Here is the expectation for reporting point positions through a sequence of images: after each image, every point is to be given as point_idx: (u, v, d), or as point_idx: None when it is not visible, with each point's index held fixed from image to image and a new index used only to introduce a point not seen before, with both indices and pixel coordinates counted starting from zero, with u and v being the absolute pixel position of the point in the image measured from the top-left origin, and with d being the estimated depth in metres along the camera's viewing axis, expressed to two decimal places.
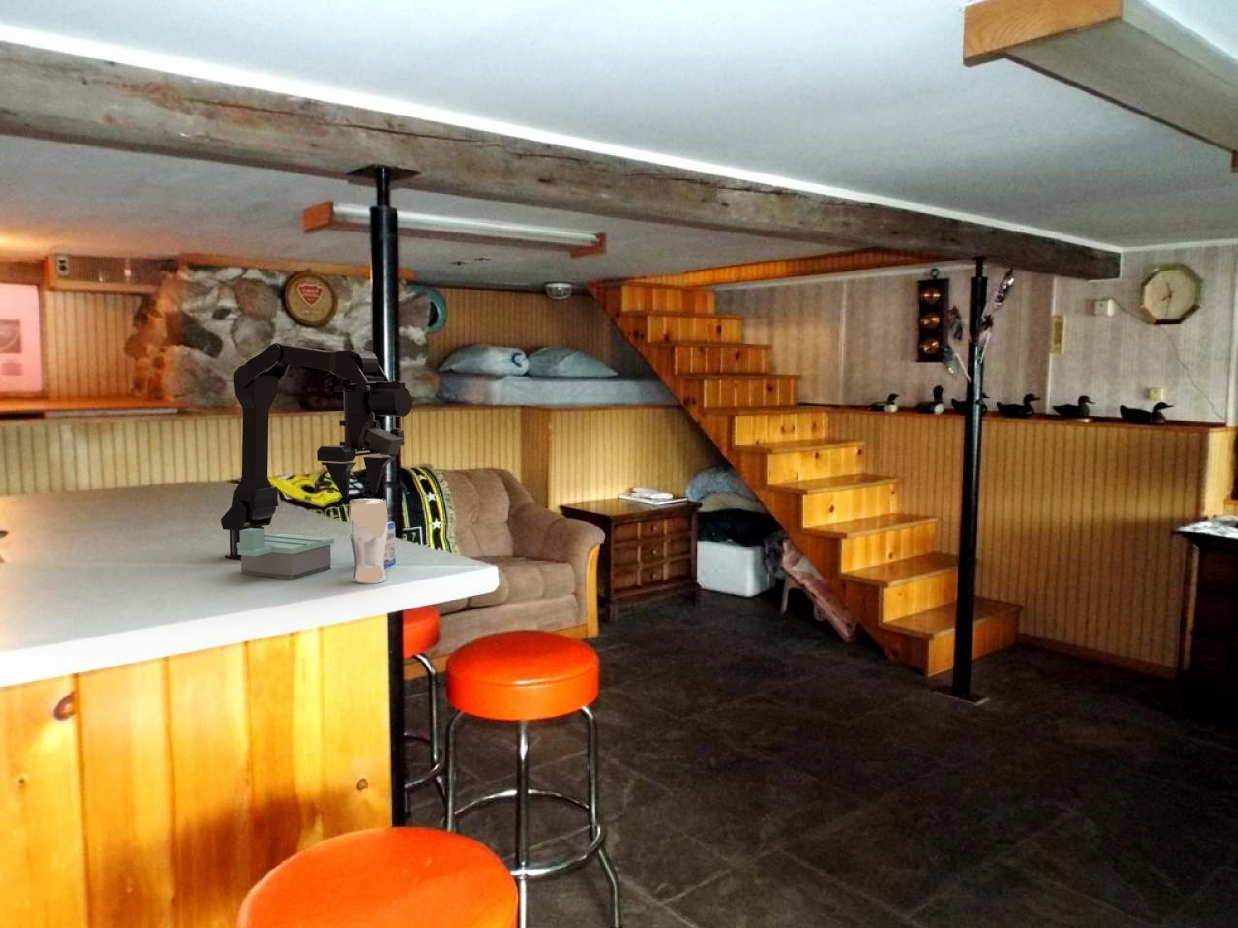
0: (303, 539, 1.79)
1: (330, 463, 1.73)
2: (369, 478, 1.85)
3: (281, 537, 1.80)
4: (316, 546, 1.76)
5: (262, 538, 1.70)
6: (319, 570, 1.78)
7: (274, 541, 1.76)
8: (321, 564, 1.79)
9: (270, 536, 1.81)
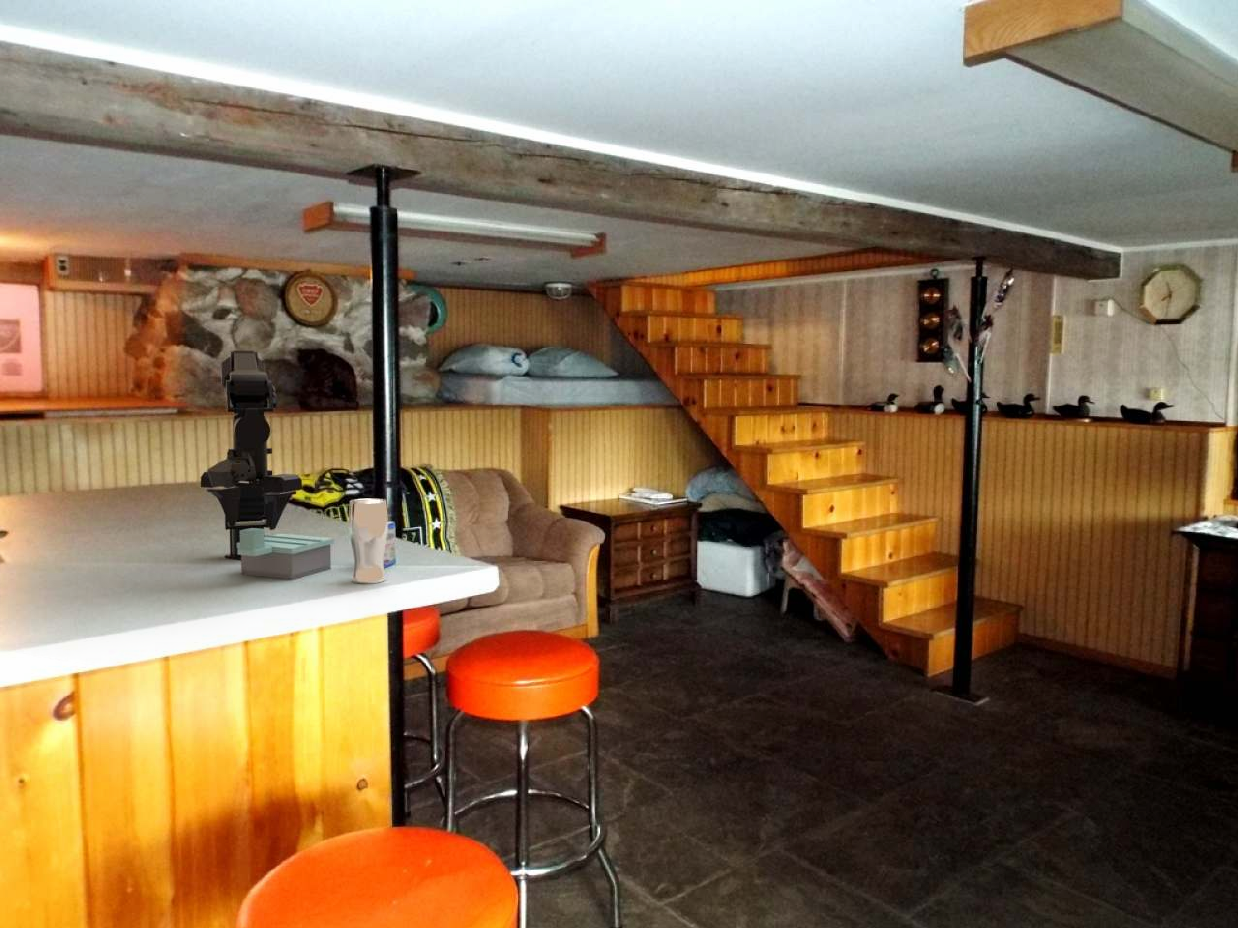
0: (303, 539, 1.79)
1: None
2: None
3: (281, 537, 1.80)
4: (316, 546, 1.76)
5: (262, 538, 1.70)
6: (319, 570, 1.78)
7: (274, 541, 1.76)
8: (321, 564, 1.79)
9: (270, 536, 1.81)
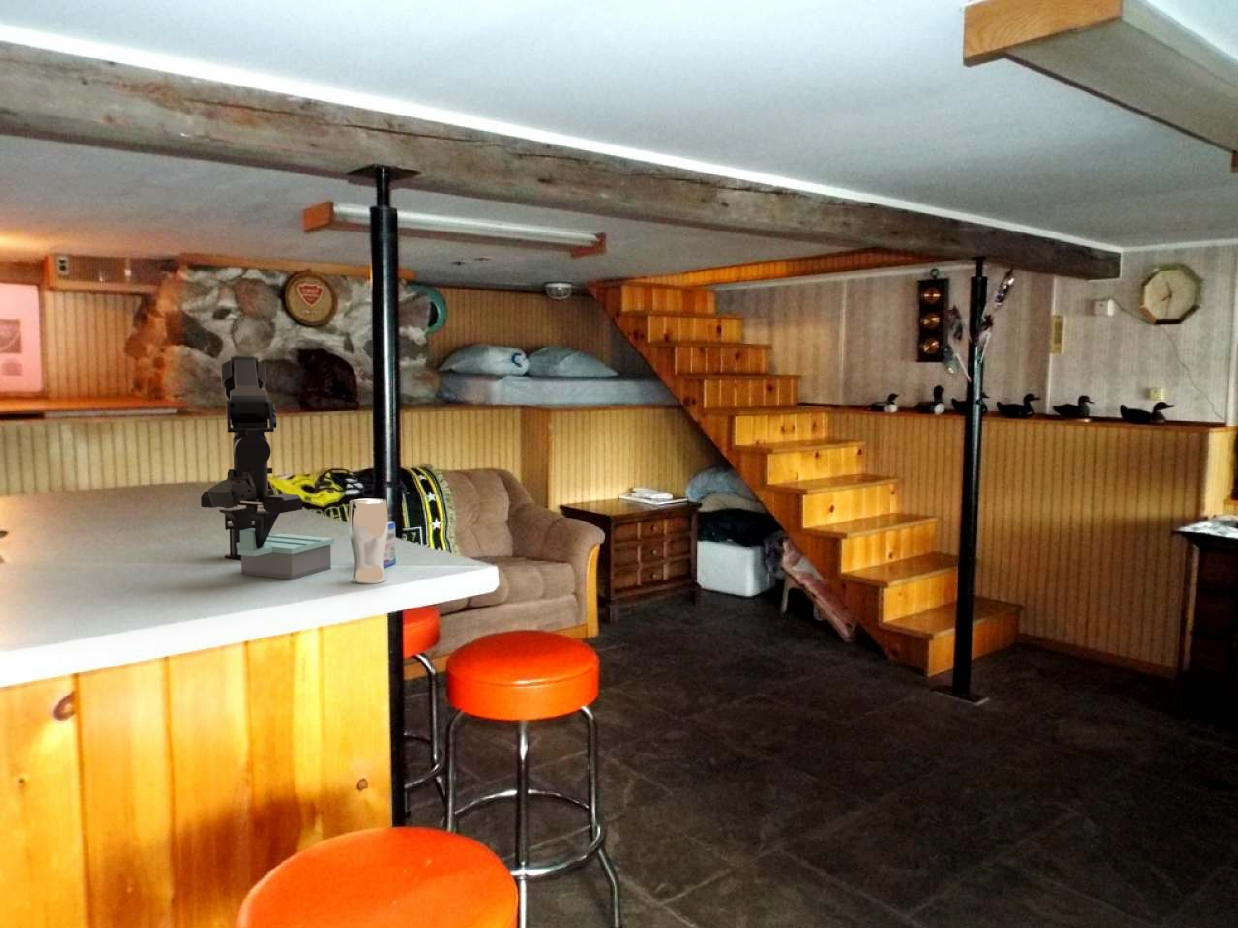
0: (303, 539, 1.79)
1: None
2: None
3: (281, 537, 1.80)
4: (316, 546, 1.76)
5: None
6: (319, 570, 1.78)
7: (274, 541, 1.76)
8: (321, 564, 1.79)
9: (270, 536, 1.81)
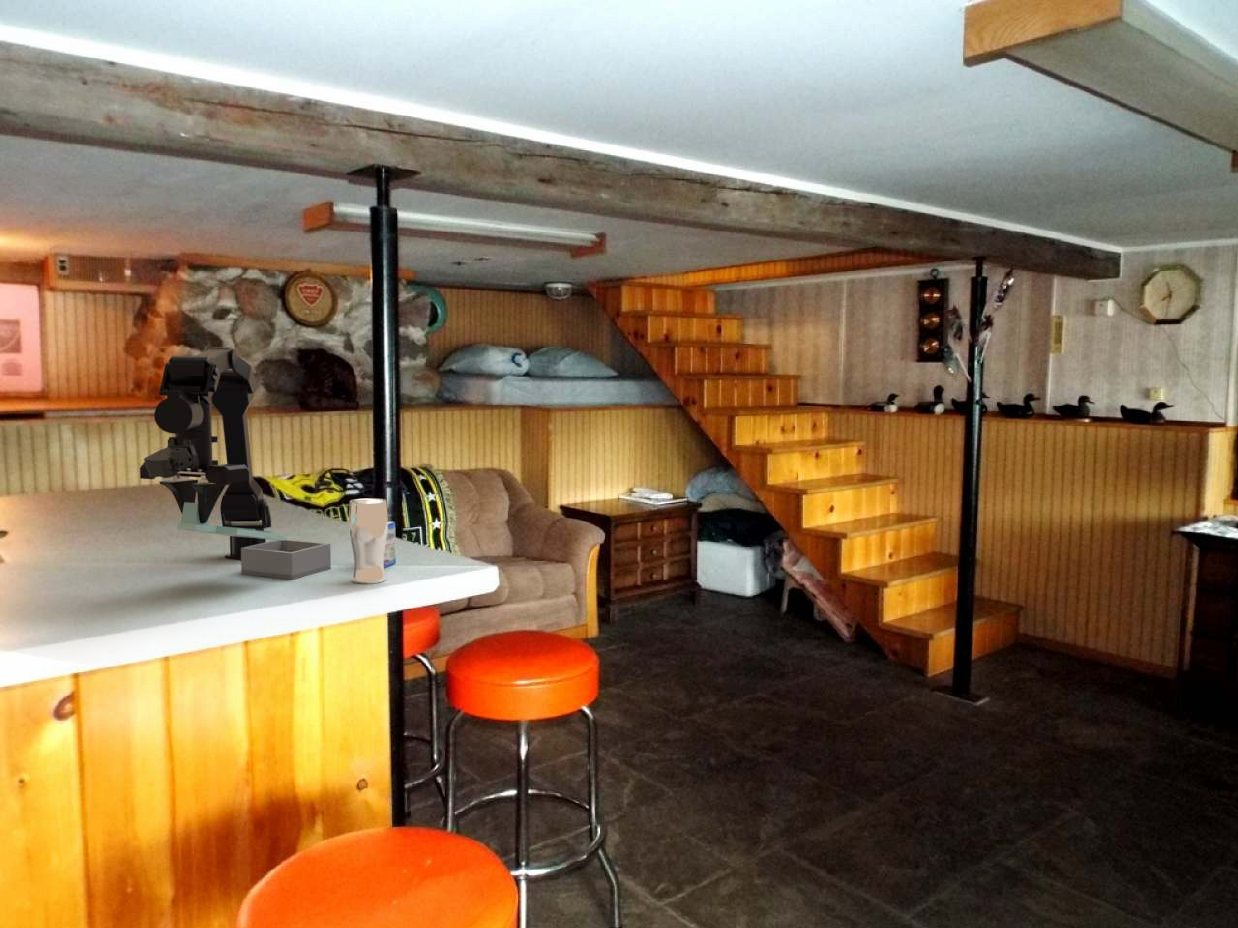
0: None
1: None
2: None
3: None
4: (264, 536, 1.63)
5: None
6: (319, 570, 1.78)
7: (220, 527, 1.63)
8: (321, 564, 1.79)
9: None
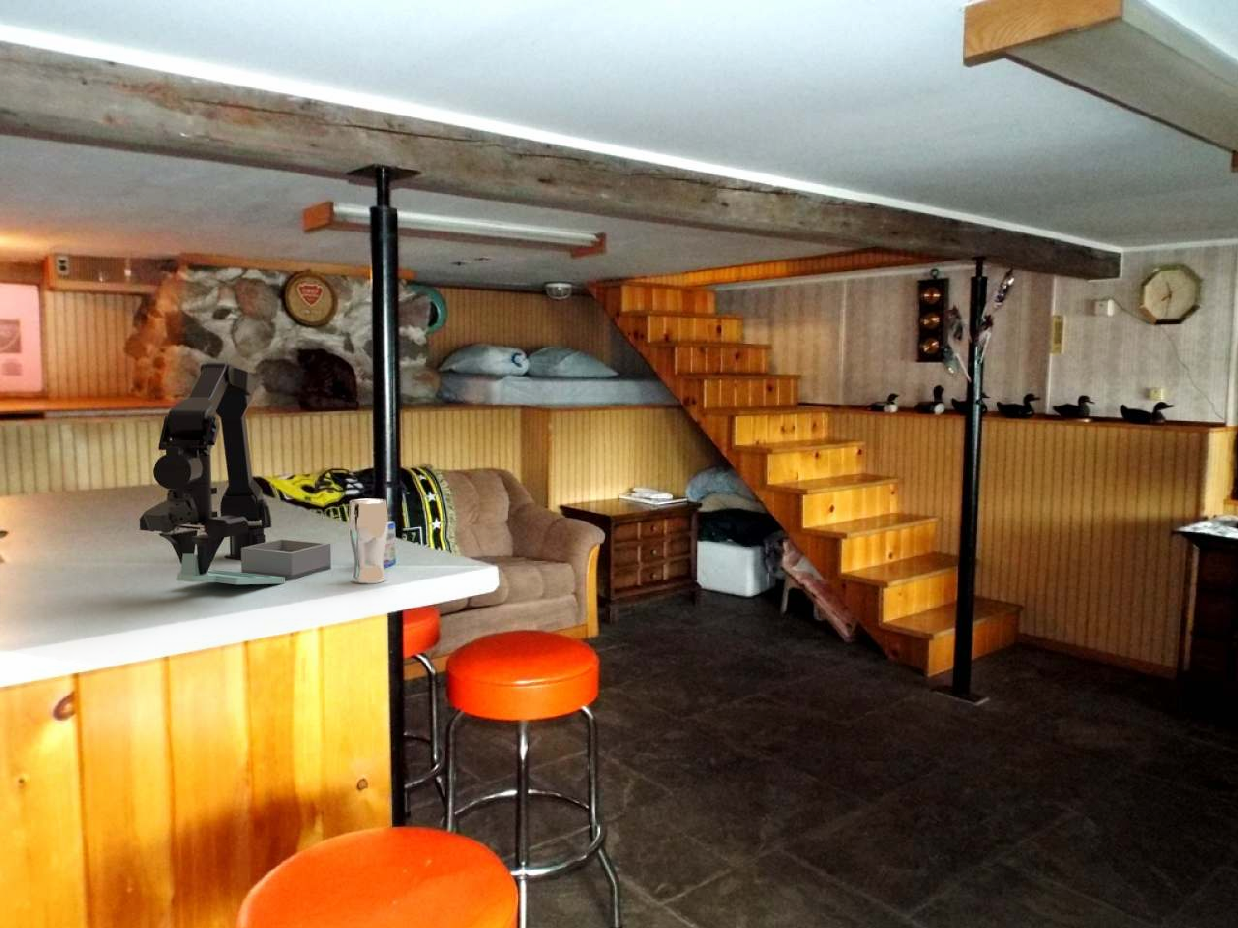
0: (251, 575, 1.66)
1: None
2: None
3: (228, 572, 1.68)
4: (264, 582, 1.64)
5: None
6: (319, 570, 1.78)
7: (219, 573, 1.63)
8: (321, 564, 1.79)
9: (217, 571, 1.69)
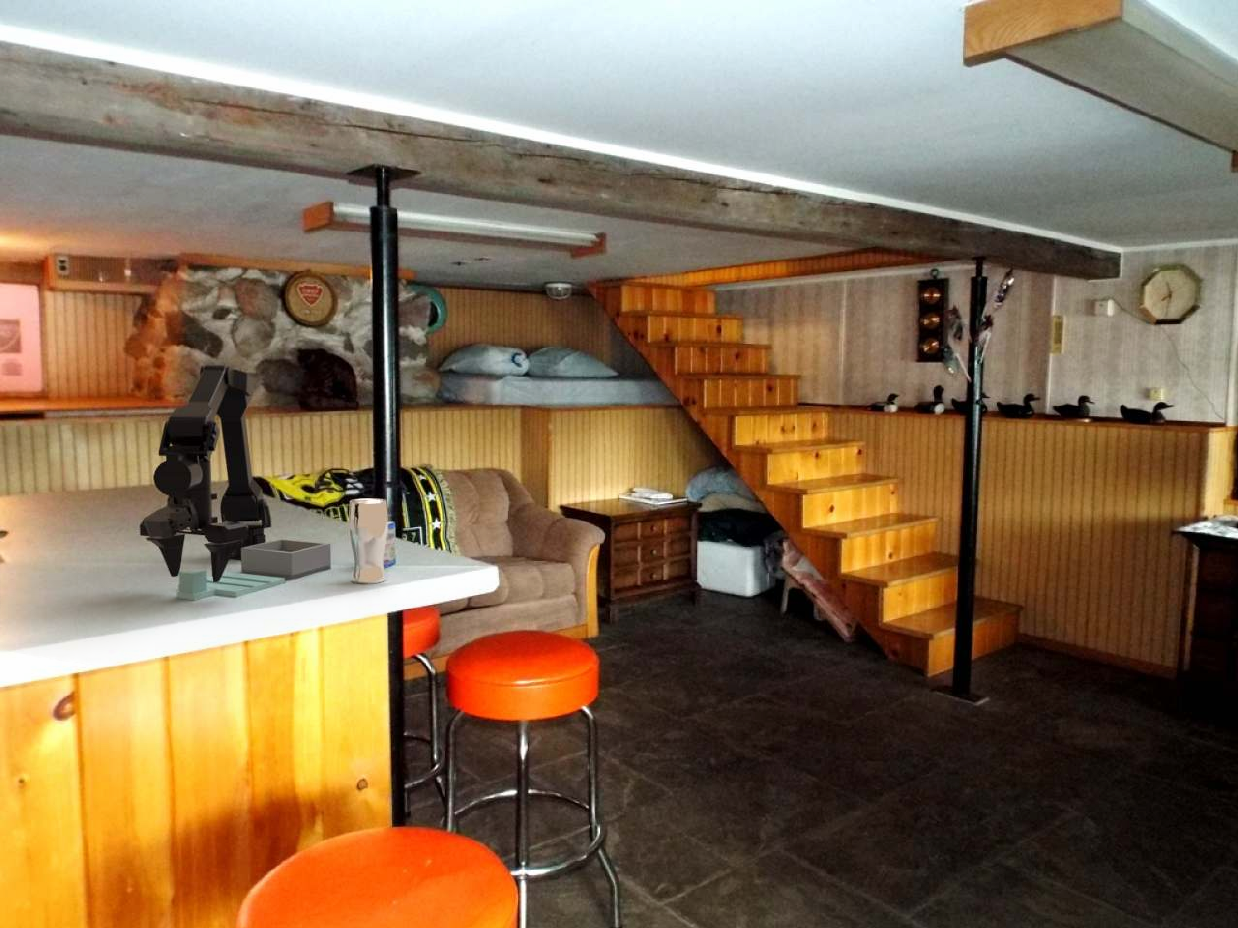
0: (251, 580, 1.66)
1: None
2: None
3: (228, 577, 1.68)
4: (264, 588, 1.64)
5: (204, 580, 1.57)
6: (319, 570, 1.78)
7: (219, 582, 1.63)
8: (321, 564, 1.79)
9: None
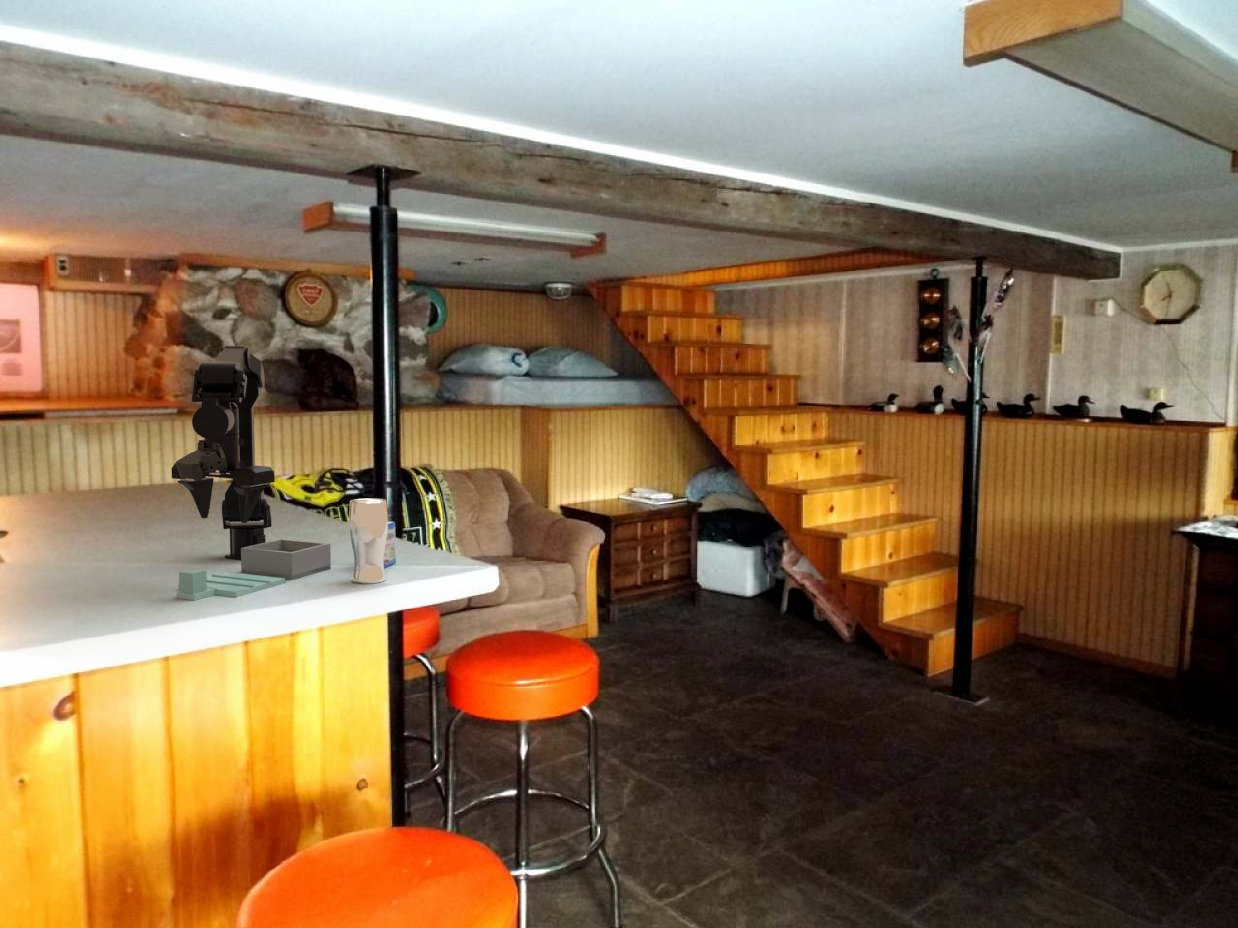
0: (251, 580, 1.66)
1: None
2: None
3: (228, 577, 1.68)
4: (264, 588, 1.64)
5: (204, 580, 1.57)
6: (319, 570, 1.78)
7: (219, 582, 1.63)
8: (321, 564, 1.79)
9: (216, 576, 1.69)
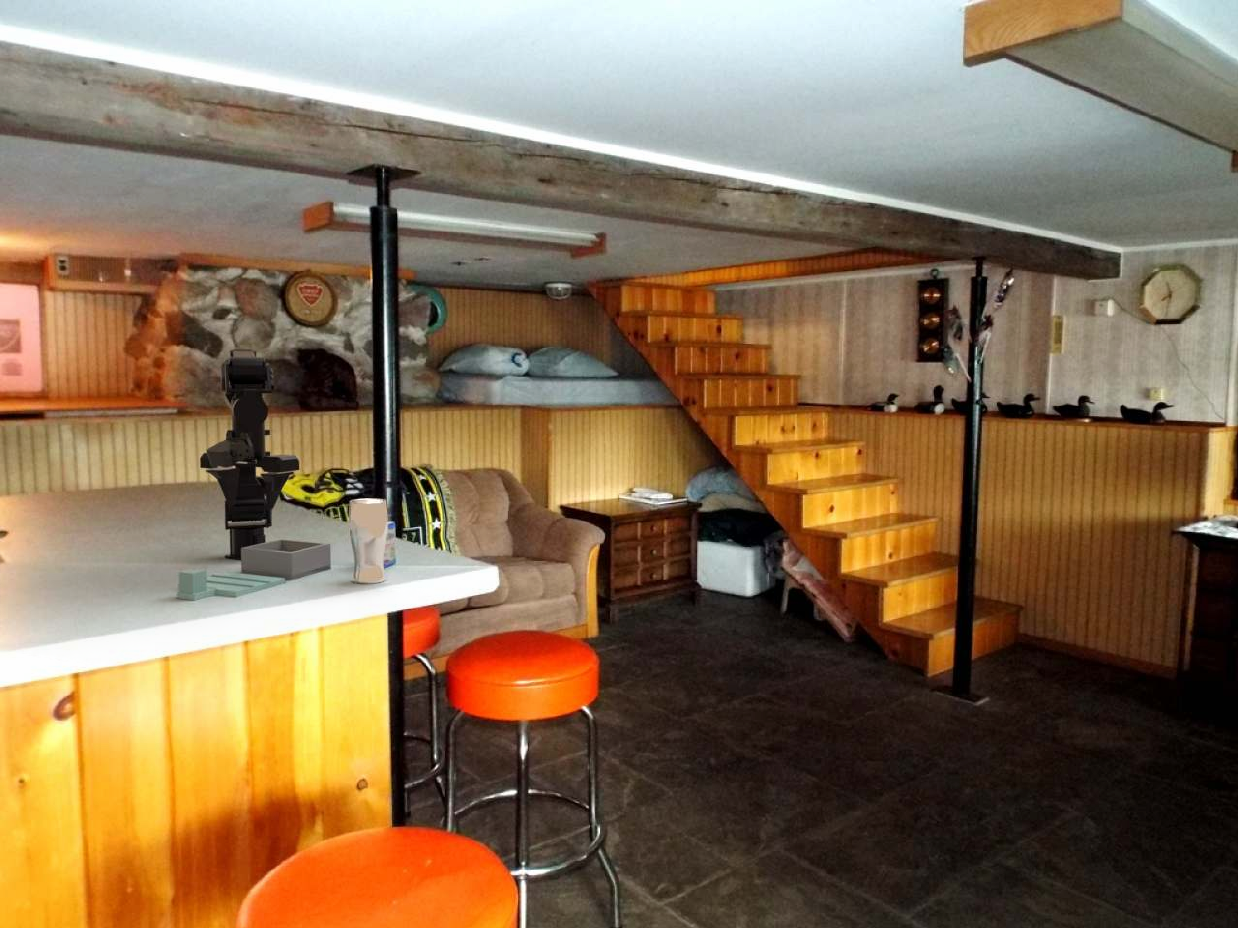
0: (251, 580, 1.66)
1: None
2: None
3: (228, 577, 1.68)
4: (264, 588, 1.64)
5: (204, 580, 1.57)
6: (319, 570, 1.78)
7: (219, 582, 1.63)
8: (321, 564, 1.79)
9: (216, 576, 1.69)
